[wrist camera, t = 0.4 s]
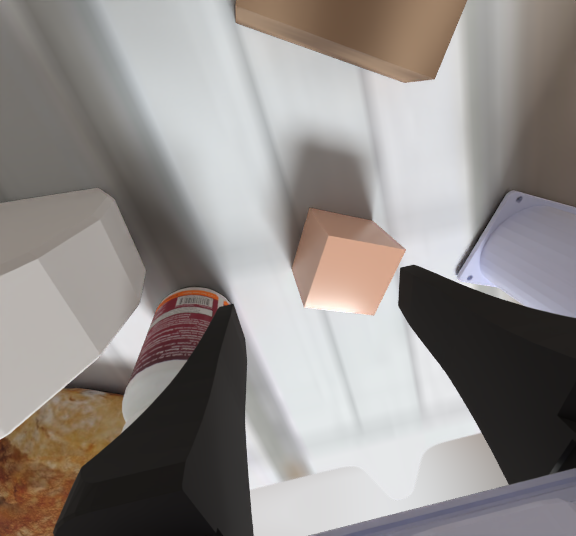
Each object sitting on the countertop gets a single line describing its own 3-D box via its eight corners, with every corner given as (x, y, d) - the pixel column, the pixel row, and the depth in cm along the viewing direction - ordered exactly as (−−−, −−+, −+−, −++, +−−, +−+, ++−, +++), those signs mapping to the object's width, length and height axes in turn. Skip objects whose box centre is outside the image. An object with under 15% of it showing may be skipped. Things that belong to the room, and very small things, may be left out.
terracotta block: (372, 220, 21) (406, 249, 17) (349, 276, 24) (374, 315, 19) (309, 207, 20) (328, 235, 16) (291, 268, 22) (304, 307, 18)
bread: (-6, 479, 30) (-104, 631, 21) (-3, 359, 22) (-151, 516, 14) (192, 488, 36) (178, 606, 28) (243, 397, 29) (245, 519, 21)
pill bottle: (140, 318, 22) (65, 482, 13) (192, 269, 21) (154, 412, 11) (202, 354, 25) (179, 511, 15) (252, 313, 24) (262, 458, 14)
